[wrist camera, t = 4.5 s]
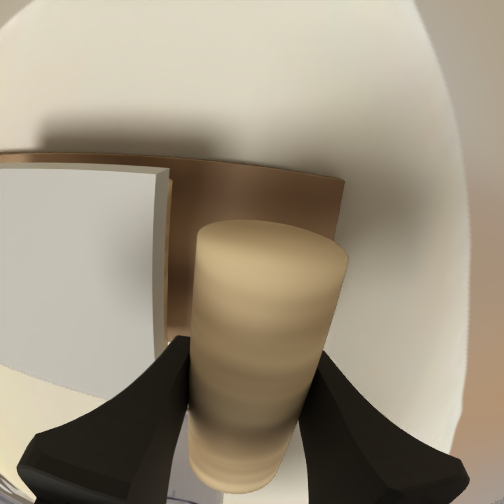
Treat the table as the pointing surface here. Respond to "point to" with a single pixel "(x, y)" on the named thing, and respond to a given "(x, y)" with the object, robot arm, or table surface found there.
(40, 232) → the slab
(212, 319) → the roller
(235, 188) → the roller board
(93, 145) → the table surface
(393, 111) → the table surface
